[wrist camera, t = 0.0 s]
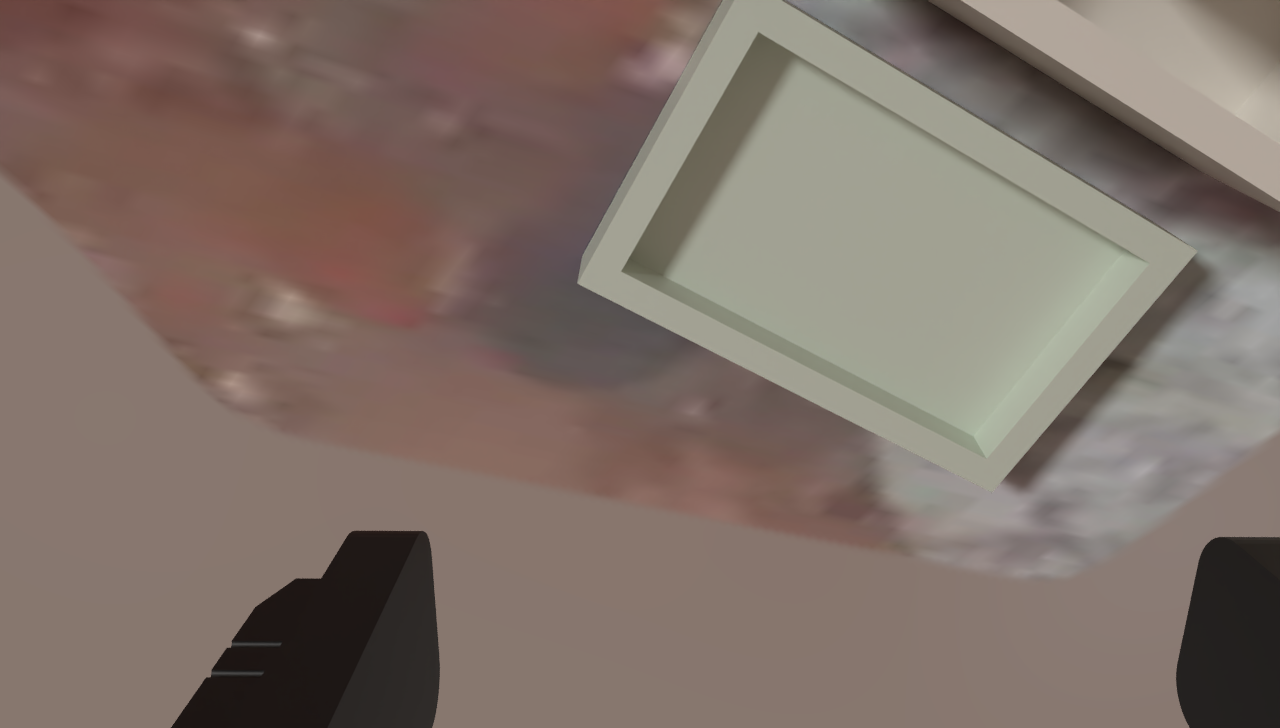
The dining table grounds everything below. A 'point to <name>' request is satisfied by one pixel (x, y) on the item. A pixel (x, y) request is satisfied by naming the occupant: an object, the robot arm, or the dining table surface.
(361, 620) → the robot arm
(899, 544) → the dining table surface
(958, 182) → the sage tray
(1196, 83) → the cream open box
